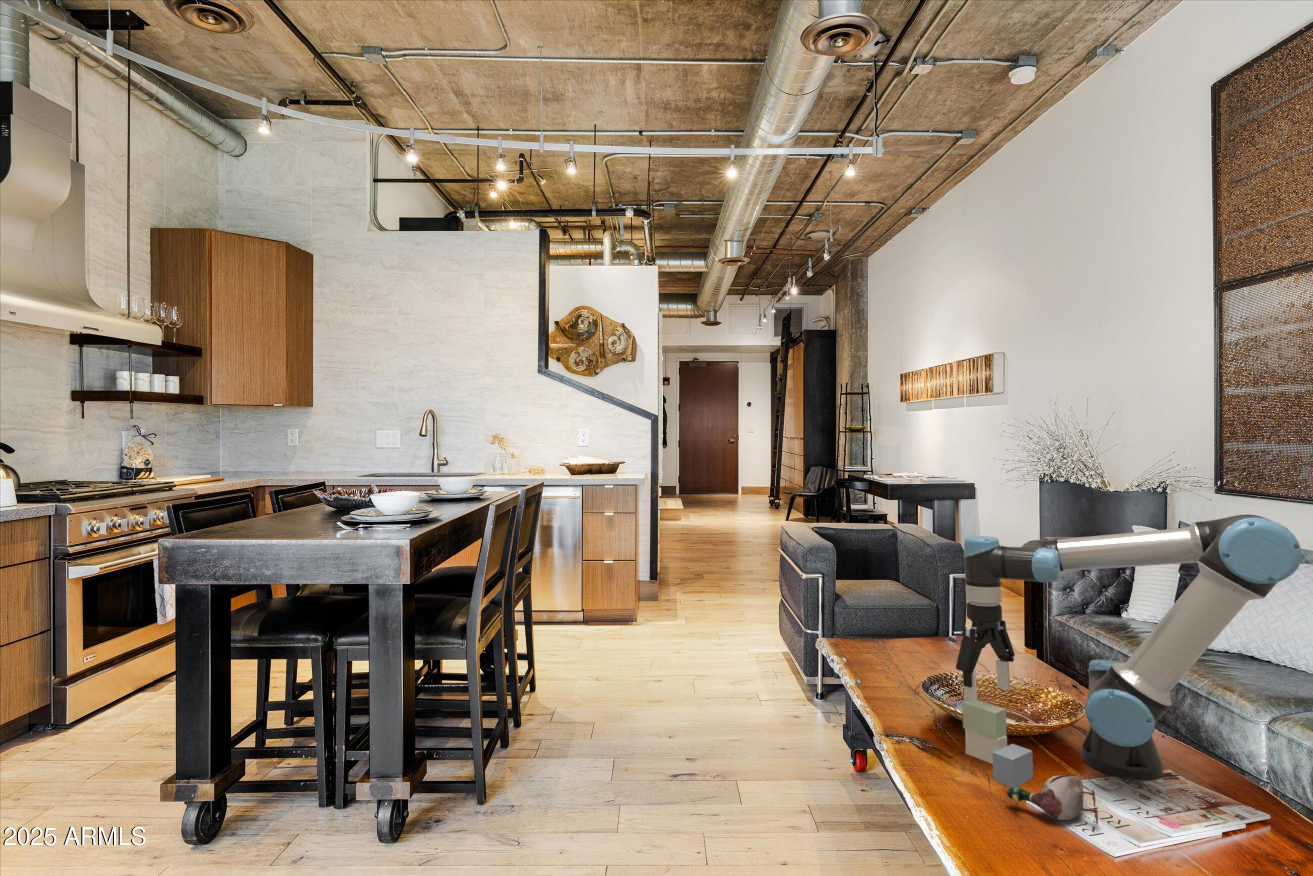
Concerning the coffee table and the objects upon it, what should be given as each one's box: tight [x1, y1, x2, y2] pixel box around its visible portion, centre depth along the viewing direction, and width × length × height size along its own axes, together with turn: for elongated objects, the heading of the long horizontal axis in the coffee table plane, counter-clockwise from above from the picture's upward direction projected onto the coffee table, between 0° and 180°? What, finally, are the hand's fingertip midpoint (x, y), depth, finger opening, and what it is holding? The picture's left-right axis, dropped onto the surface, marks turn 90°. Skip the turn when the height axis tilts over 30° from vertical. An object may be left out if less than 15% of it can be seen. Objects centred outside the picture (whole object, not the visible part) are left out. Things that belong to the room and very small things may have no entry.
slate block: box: [992, 743, 1034, 788], centre depth 146 cm, size 8×4×6 cm, turn 123°
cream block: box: [964, 728, 1008, 765], centre depth 156 cm, size 8×4×6 cm, turn 34°
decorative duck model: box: [1006, 774, 1099, 825], centre depth 133 cm, size 15×8×15 cm
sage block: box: [962, 699, 1007, 740], centre depth 157 cm, size 8×4×6 cm, turn 34°
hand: (987, 694), depth 156 cm, fingers open, 13 cm apart
